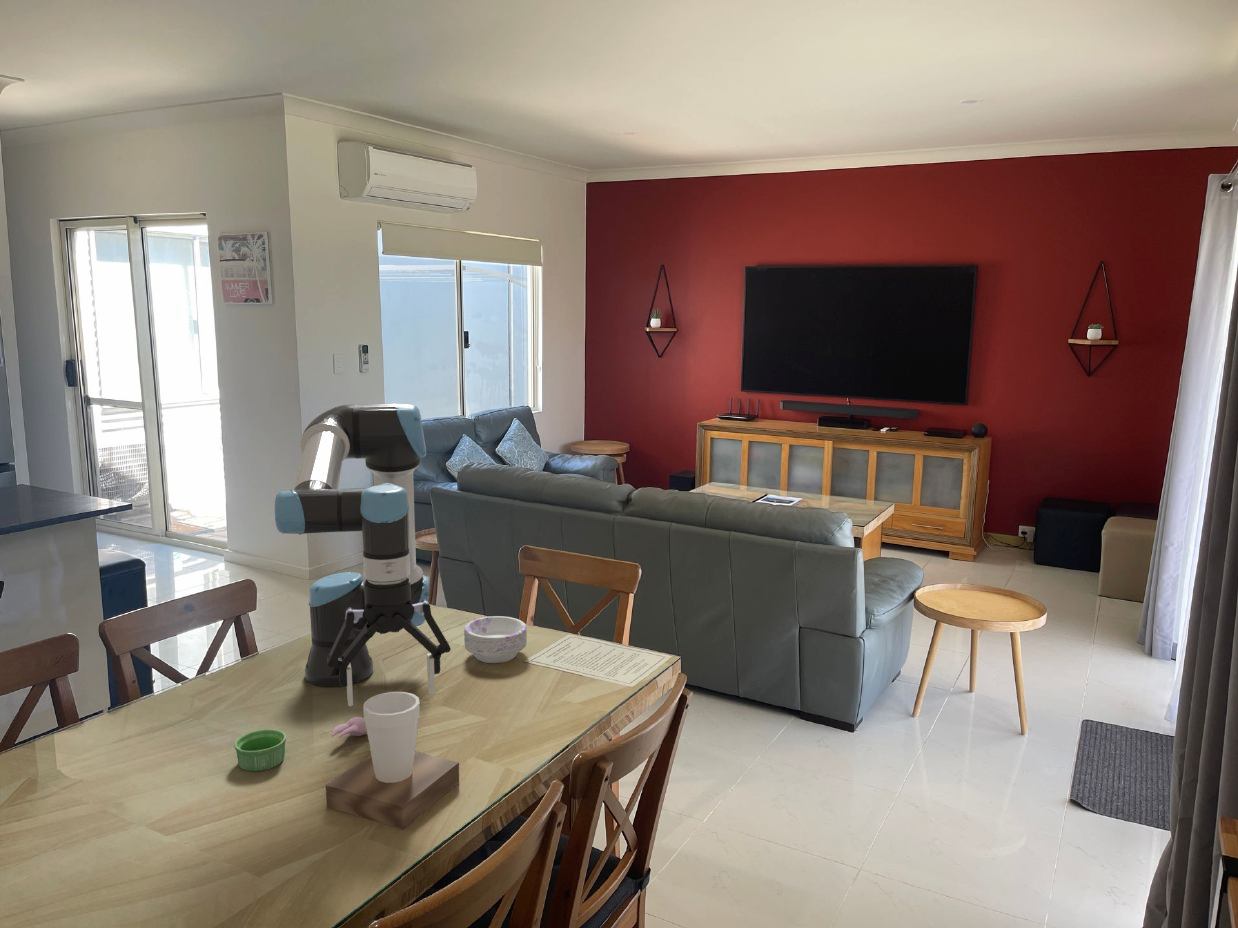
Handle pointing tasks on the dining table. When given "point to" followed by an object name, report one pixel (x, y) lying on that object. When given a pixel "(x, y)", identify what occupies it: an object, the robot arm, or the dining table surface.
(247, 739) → the ramekin
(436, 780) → the walnut base
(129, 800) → the dining table surface
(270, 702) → the dining table surface
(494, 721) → the dining table surface
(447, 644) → the robot arm
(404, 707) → the foam cup
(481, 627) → the white bowl
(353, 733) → the rabbit figure
